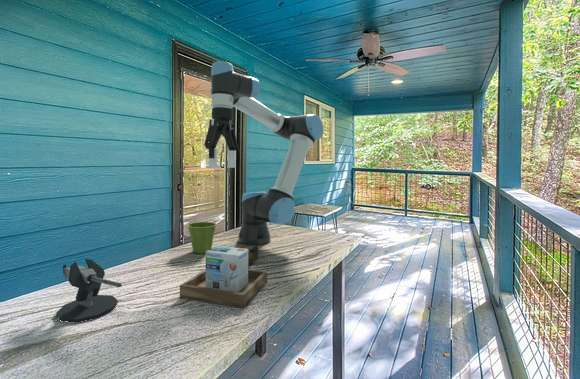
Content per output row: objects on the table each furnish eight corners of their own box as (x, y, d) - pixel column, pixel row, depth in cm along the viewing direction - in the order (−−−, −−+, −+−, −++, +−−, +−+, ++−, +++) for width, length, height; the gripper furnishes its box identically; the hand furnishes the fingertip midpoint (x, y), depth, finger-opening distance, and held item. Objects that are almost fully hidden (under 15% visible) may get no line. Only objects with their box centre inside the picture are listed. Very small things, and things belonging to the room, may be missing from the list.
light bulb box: (204, 288, 84) (204, 251, 83) (217, 279, 91) (216, 245, 90) (238, 293, 81) (238, 255, 80) (249, 283, 88) (249, 248, 87)
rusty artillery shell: (244, 274, 98) (245, 260, 98) (233, 273, 99) (233, 259, 99) (263, 257, 117) (264, 245, 116) (254, 256, 118) (254, 244, 117)
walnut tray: (212, 275, 97) (212, 264, 96) (267, 282, 91) (267, 271, 91) (179, 297, 80) (179, 285, 80) (244, 308, 75) (244, 295, 75)
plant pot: (222, 251, 122) (222, 224, 121) (195, 257, 114) (195, 229, 112) (208, 245, 130) (207, 220, 129) (182, 250, 122) (181, 224, 121)
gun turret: (99, 335, 63) (96, 277, 61) (42, 315, 70) (38, 263, 69) (148, 308, 74) (146, 258, 73) (94, 294, 82) (92, 248, 81)
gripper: (213, 100, 92) (214, 168, 94) (246, 113, 116) (246, 167, 118) (192, 101, 94) (193, 168, 96) (229, 114, 118) (229, 167, 120)
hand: (222, 168), depth 107 cm, fingers open, 13 cm apart
